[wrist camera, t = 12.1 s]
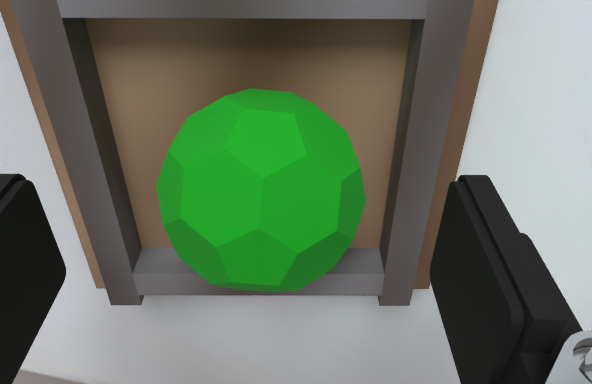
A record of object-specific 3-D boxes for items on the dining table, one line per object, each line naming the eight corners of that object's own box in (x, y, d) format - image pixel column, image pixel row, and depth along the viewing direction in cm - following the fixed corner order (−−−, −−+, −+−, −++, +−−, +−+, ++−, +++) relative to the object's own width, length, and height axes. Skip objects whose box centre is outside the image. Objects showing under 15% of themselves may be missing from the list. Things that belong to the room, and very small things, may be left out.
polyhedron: (146, 147, 14) (90, 265, 10) (253, 19, 12) (232, 109, 8) (277, 234, 16) (271, 360, 12) (389, 137, 14) (425, 254, 10)
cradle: (507, -97, 11) (543, -84, 10) (424, 272, 18) (436, 315, 17) (-18, -99, 11) (-71, -87, 10) (103, 272, 18) (85, 314, 17)
